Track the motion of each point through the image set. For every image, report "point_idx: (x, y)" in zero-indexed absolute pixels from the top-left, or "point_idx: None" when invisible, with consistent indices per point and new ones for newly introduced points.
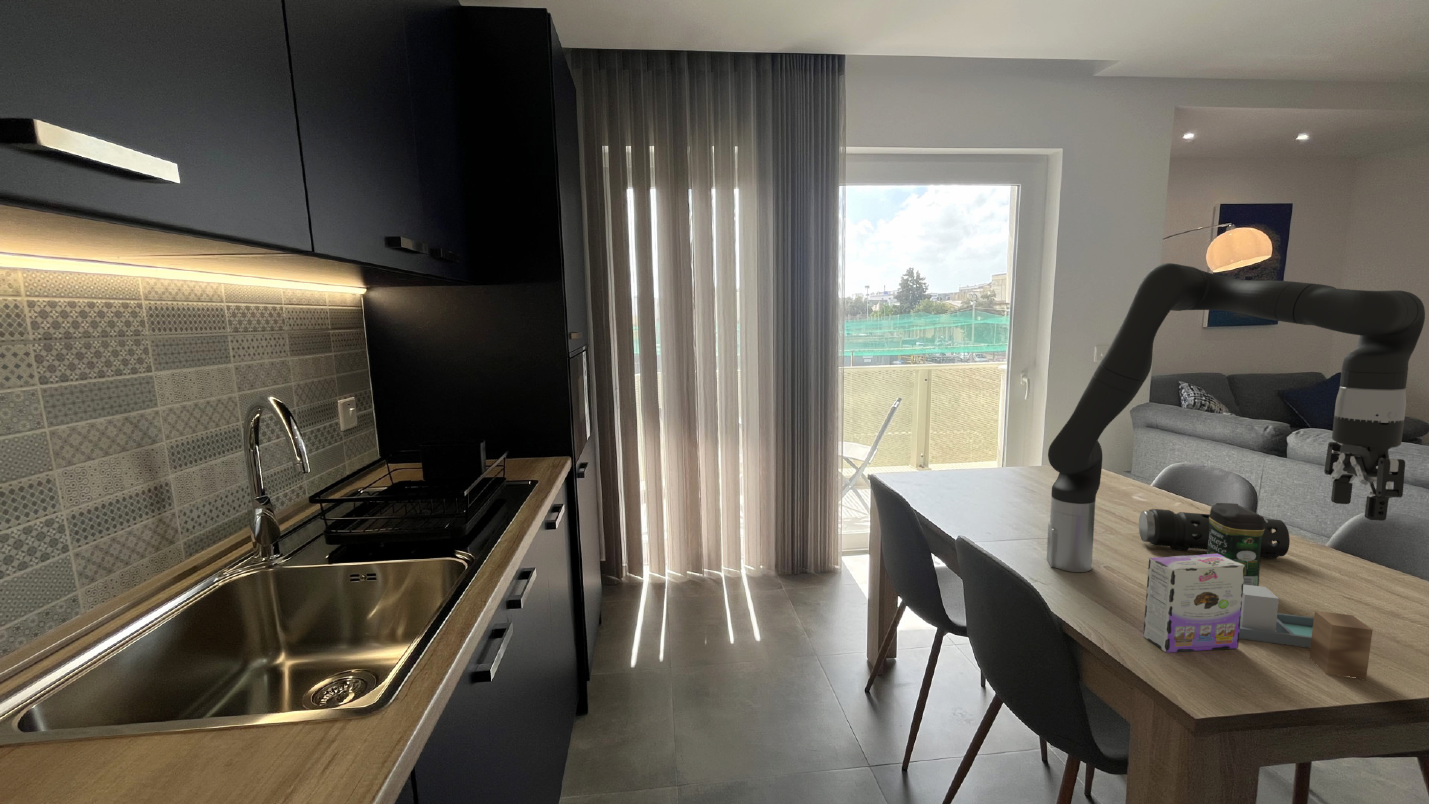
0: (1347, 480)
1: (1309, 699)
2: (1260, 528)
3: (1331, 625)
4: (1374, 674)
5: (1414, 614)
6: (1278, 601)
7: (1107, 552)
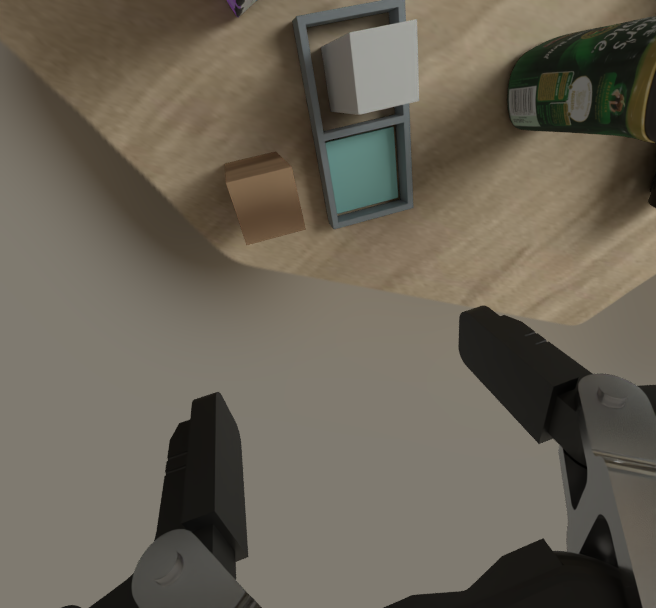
0: (562, 442)
1: (88, 109)
2: (650, 129)
3: (228, 181)
4: None
5: None
6: (356, 114)
7: None
